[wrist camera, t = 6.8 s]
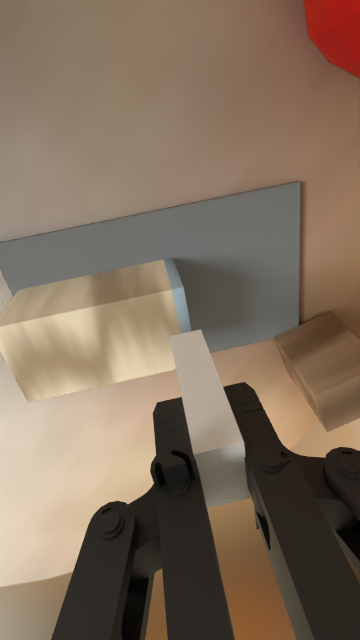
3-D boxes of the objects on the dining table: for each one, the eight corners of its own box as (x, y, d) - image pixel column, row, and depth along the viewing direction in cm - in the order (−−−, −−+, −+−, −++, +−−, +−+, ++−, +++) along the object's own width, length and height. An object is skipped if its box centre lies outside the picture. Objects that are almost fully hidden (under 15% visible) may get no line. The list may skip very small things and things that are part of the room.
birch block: (172, 257, 21) (18, 290, 21) (183, 287, 16) (-12, 329, 16) (185, 323, 23) (47, 353, 23) (197, 364, 19) (28, 402, 19)
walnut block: (274, 337, 25) (315, 395, 20) (329, 310, 24) (384, 363, 19) (288, 372, 27) (327, 432, 23) (338, 349, 27) (388, 404, 22)
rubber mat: (-9, 244, 19) (-11, 245, 19) (297, 181, 20) (300, 181, 20) (57, 383, 25) (56, 386, 24) (296, 330, 25) (298, 333, 25)
